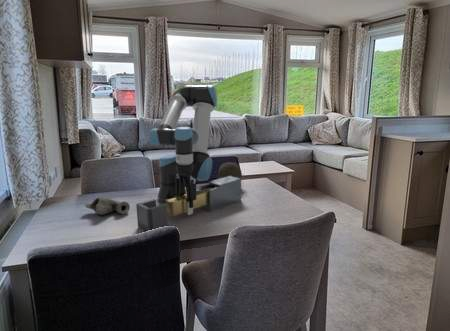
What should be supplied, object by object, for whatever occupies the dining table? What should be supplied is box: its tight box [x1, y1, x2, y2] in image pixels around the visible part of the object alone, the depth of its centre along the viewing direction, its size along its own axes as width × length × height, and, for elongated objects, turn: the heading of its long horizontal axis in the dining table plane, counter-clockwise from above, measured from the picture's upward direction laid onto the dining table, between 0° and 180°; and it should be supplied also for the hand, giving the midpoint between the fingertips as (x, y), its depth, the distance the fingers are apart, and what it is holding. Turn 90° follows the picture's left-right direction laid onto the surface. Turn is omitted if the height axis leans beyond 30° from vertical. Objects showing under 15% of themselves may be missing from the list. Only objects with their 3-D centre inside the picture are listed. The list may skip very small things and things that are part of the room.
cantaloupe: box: [217, 161, 243, 180], centre depth 186 cm, size 14×14×15 cm
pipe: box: [84, 196, 131, 216], centre depth 152 cm, size 16×9×15 cm
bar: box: [164, 186, 216, 217], centre depth 151 cm, size 6×32×6 cm, turn 134°
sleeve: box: [198, 176, 242, 212], centre depth 162 cm, size 8×21×12 cm, turn 134°
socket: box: [135, 198, 169, 232], centre depth 135 cm, size 10×8×10 cm
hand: (186, 212), depth 148 cm, fingers closed on bar, 5 cm apart
